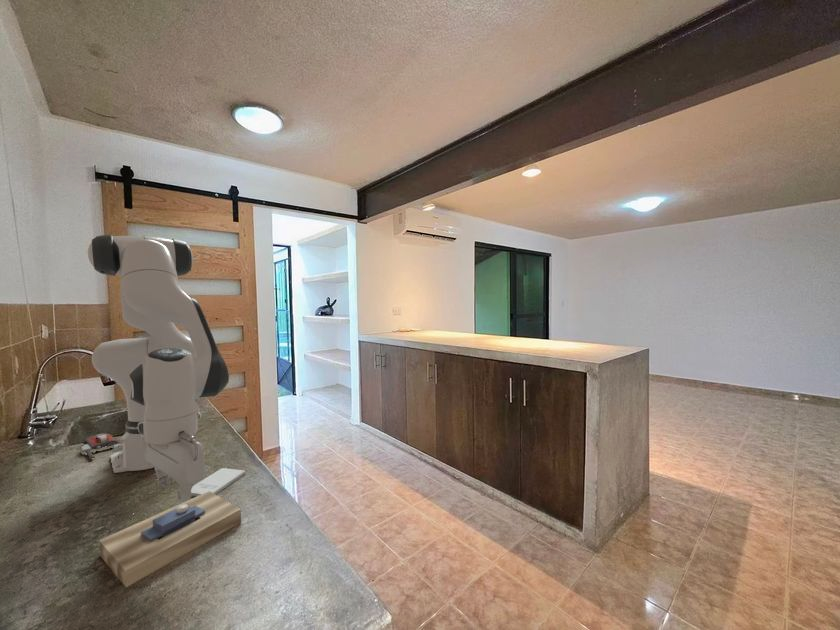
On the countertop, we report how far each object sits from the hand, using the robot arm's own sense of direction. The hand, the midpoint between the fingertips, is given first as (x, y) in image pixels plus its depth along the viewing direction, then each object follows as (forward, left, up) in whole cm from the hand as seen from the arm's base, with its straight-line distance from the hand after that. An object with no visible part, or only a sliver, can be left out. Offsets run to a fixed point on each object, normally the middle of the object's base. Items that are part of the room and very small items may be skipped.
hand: (174, 491), depth 69 cm
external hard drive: (-15, +15, -10) cm, 23 cm away
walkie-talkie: (-73, +5, -10) cm, 73 cm away
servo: (0, 0, -10) cm, 10 cm away
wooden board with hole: (0, 0, -10) cm, 10 cm away
